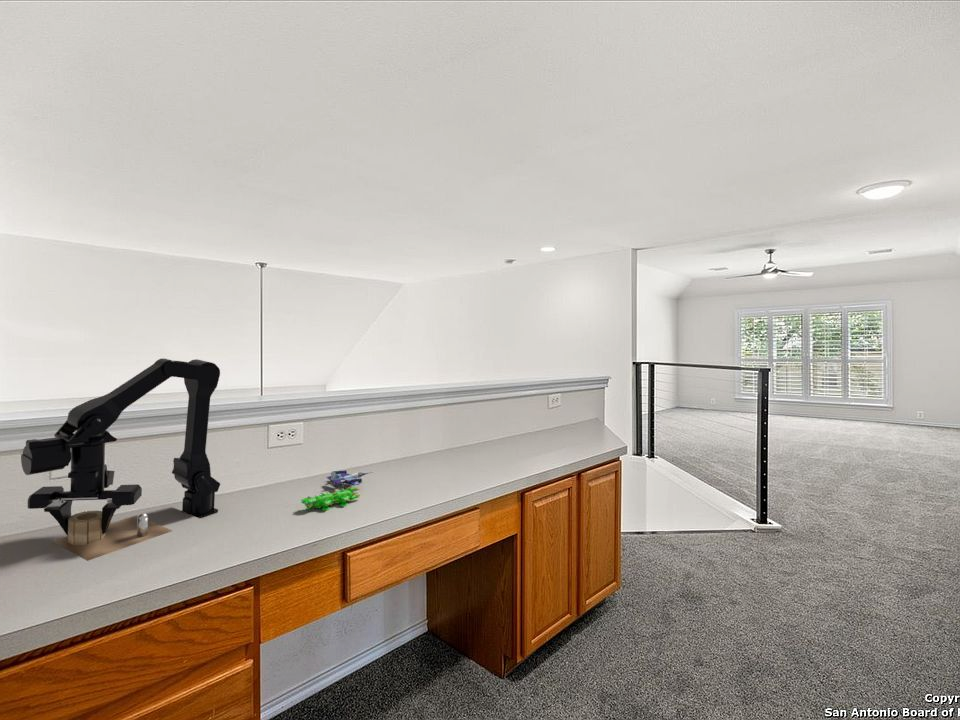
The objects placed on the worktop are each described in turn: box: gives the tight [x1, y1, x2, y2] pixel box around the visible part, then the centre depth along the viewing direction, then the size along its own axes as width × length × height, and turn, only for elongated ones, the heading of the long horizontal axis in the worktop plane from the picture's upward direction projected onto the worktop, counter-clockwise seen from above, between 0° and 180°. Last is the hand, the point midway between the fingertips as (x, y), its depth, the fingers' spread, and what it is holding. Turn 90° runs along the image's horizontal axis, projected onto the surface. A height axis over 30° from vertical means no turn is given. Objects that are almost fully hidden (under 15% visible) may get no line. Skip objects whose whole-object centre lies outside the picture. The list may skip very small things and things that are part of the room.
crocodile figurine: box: [300, 486, 361, 512], centre depth 140 cm, size 7×18×4 cm, turn 136°
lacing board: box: [52, 514, 173, 561], centre depth 110 cm, size 17×14×2 cm
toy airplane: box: [326, 470, 373, 490], centre depth 157 cm, size 13×14×4 cm
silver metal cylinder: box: [137, 512, 149, 537], centre depth 111 cm, size 2×2×5 cm
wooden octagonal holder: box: [68, 510, 105, 545], centre depth 107 cm, size 6×6×5 cm
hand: (86, 533), depth 107 cm, fingers closed on wooden octagonal holder, 6 cm apart
